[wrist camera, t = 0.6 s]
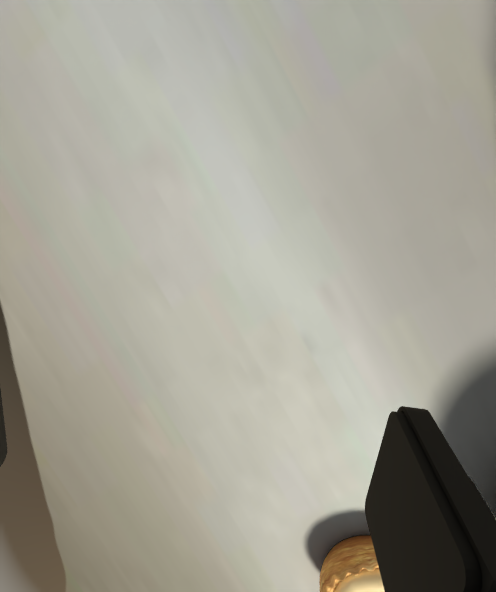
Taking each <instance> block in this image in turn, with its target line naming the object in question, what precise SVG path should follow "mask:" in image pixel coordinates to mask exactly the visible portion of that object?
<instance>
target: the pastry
mask: <svg viewBox="0 0 496 592" xmlns="http://www.w3.org/2000/svg"><path fill="white" fill-rule="evenodd" d="M320 592H385V590H384V587H383V583H382V579H381V575H380V571H379V567H378V563H377V559H376V555H375V551H374V547H373V543H372V539H371V535H363V536H355V537H351V538H348V539H345V540H343V541H341V542H339V543H338V544H337V545H335V546H334V547H333V548H332V549H331V550H330V552H329V553H328V555H327V556H326V558H325V560H324V562H323V565H322V569H321V573H320Z"/></svg>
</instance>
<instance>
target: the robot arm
mask: <svg viewBox="0 0 496 592" xmlns="http://www.w3.org/2000/svg"><path fill="white" fill-rule="evenodd" d="M1 399H2V398H1V390H0V466H1V465H2V464H3V462H4V460H5V458H6V454H7V442H6V434H5V425H4V416H3V407H2V400H1ZM365 514H366V519H367V523H368V527H369V531H370V535H371V539H372V543H373V547H374V551H375V555H376V559H377V563H378V567H379V571H380V575H381V579H382V583H383V587H384V590H385V592H496V520H495V518H494V516H493V515H492V513H491V511H490V510H489V508H488V506H487V505H486V503H485V501H484V500H483V498H482V496H481V495H480V493H479V491H478V490H477V488H476V487H475V485H474V483H473V482H472V481H471V479H470V478H469V477H468V476H467V474H466V473H465V471H464V469H463V468H462V466H461V464H460V463H459V461H458V459H457V458H456V456H455V454H454V453H453V451H452V449H451V448H450V446H449V444H448V443H447V441H446V439H445V437H444V436H443V434H442V432H441V431H440V429H439V427H438V426H437V424H436V422H435V421H434V419H433V417H432V416H431V414H430V413H429V411H428V410H425V409H418V408H411V407H403V406H402V407H400V408H399V409H398V411H397V412H391V413H390V415H389V418H388V421H387V425H386V429H385V432H384V436H383V439H382V443H381V447H380V450H379V454H378V457H377V461H376V465H375V468H374V472H373V475H372V479H371V483H370V486H369V490H368V493H367V497H366V502H365Z"/></svg>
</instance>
